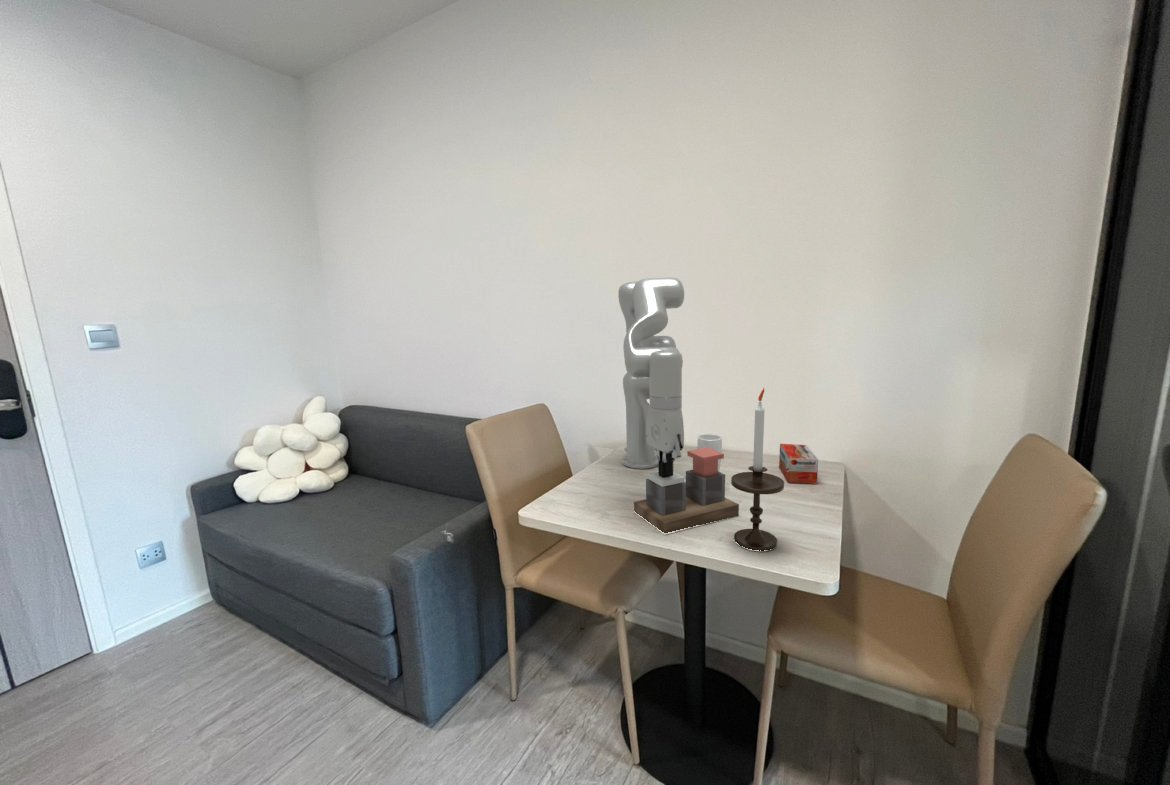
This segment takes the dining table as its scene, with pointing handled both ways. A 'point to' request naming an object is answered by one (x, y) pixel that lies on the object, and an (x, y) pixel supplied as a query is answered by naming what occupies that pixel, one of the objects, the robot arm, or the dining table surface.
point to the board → (686, 503)
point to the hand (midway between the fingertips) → (665, 475)
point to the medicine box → (798, 464)
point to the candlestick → (757, 490)
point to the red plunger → (705, 461)
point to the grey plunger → (665, 479)
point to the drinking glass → (710, 443)
